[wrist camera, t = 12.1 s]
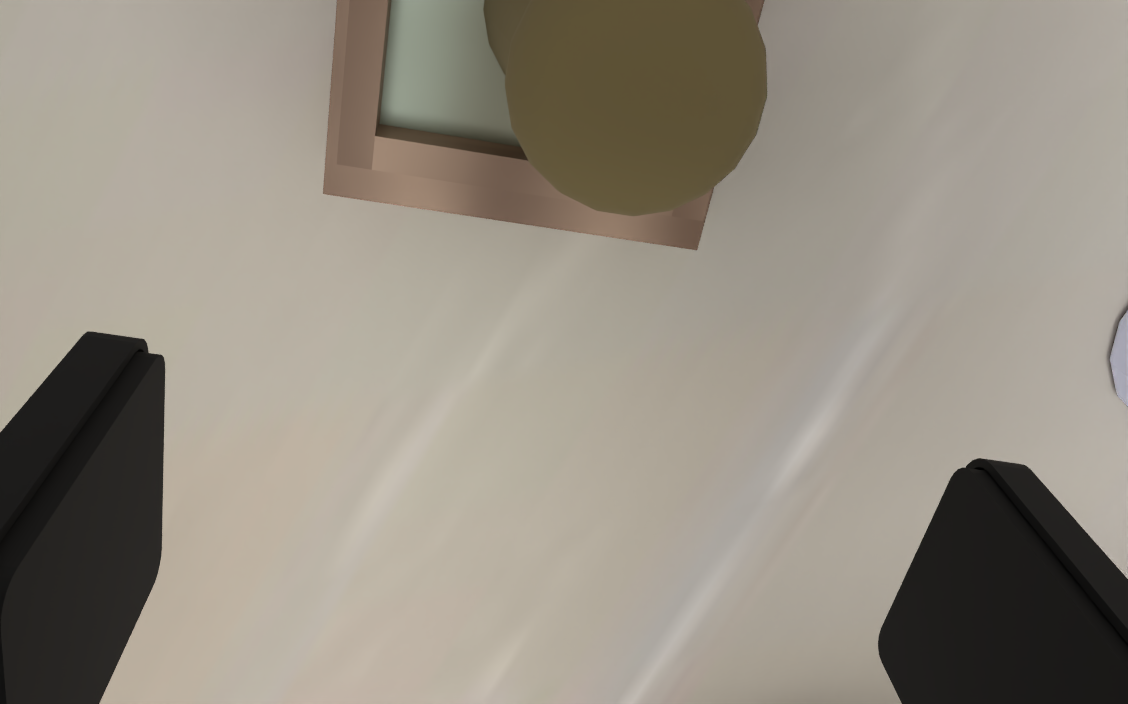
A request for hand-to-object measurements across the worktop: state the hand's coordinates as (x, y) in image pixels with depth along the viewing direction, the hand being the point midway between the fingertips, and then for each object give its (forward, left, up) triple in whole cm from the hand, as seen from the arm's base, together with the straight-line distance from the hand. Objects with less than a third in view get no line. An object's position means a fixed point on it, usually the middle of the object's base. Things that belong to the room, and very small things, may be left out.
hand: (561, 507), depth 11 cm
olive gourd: (-2, -3, -20) cm, 20 cm away
